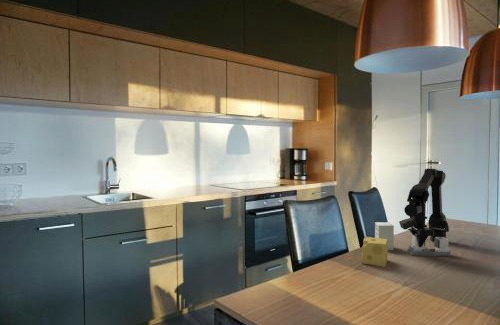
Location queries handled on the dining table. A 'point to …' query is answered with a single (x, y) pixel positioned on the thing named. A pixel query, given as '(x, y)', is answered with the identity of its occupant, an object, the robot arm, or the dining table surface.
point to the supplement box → (385, 233)
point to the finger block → (416, 242)
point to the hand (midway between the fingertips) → (418, 245)
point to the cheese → (374, 251)
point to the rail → (439, 250)
